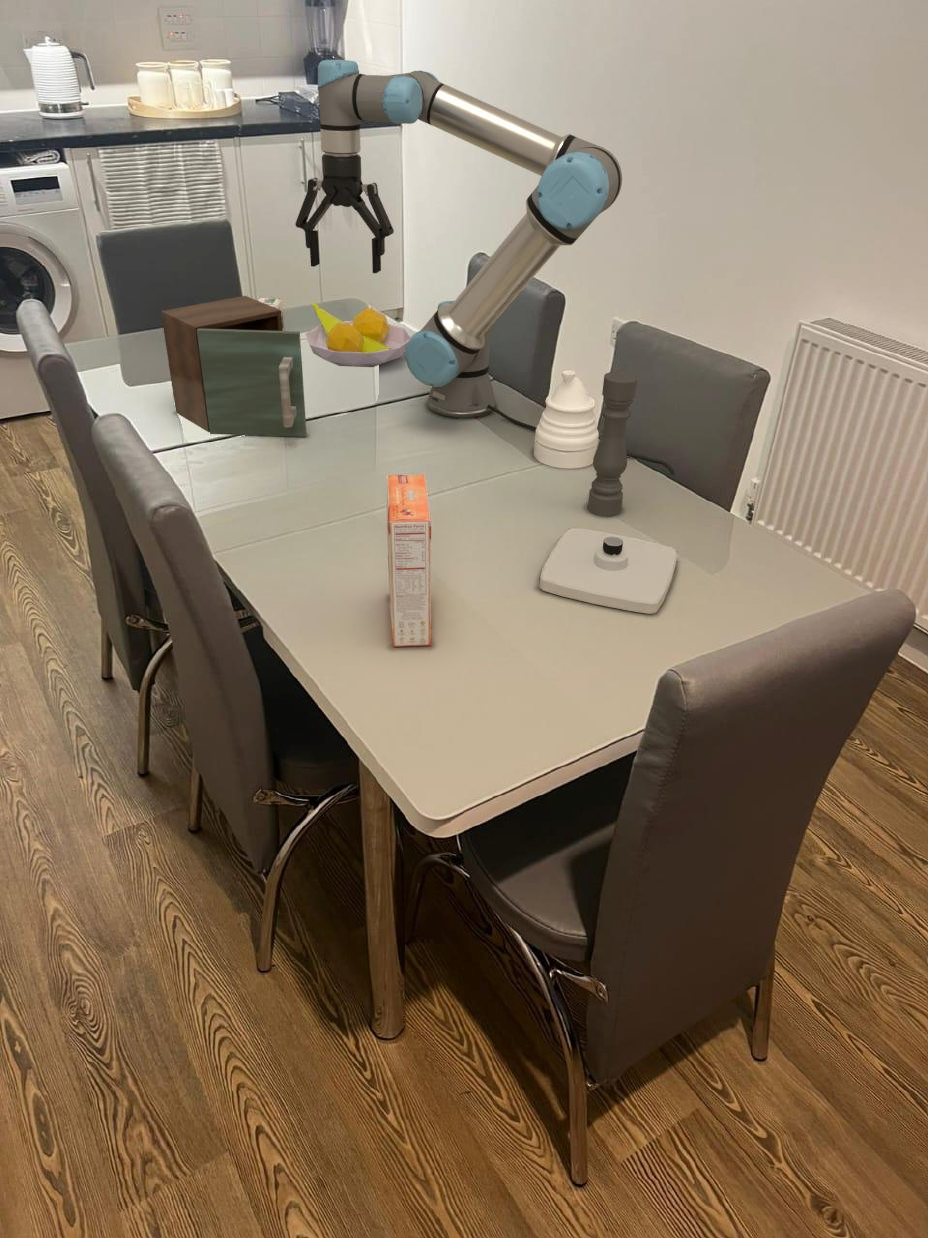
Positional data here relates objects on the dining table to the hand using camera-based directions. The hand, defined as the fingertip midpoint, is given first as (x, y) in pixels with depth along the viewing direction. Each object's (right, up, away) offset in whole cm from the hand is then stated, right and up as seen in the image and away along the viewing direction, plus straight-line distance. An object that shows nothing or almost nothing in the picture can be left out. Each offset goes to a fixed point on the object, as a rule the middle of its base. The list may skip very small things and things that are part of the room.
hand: (345, 268), depth 191 cm
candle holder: (+50, -52, -19) cm, 74 cm away
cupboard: (-27, -26, +15) cm, 40 cm away
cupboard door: (-19, -35, +2) cm, 40 cm away
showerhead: (+48, -65, -38) cm, 89 cm away
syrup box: (-24, -6, +45) cm, 51 cm away
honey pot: (+45, -38, +1) cm, 59 cm away
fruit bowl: (-3, -5, +47) cm, 48 cm away
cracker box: (+16, -72, -51) cm, 90 cm away
